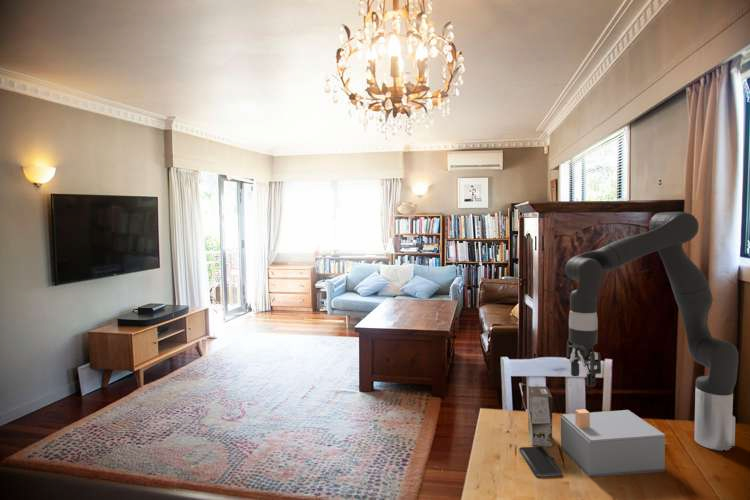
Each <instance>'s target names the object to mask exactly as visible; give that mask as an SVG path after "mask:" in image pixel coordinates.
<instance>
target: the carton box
mask: <svg viewBox="0 0 750 500" xmlns="http://www.w3.org/2000/svg"><path fill="white" fill-rule="evenodd" d="M560 448H561V450H563V451H564V452H565V454H567V456H568V457H569V458H570V459H571V460H572V461H573V462H574V463H575V464H576V465H577V466H578V467H579V468H580V469H581V470H582V471H583V472H584V474H585V475H587V477H588V478H598V477H609V476H610V477H611V476H622V475H624V476H625V475H635V474H637V475H638V474H648V473H661V472H665V468H666V467H665V461H666V460H665V457H666V456H665V455H666V453H665V452H666V436H665V437H655V438H642V439H628V440H615V441H601V442H590V441H589V440H588V439H587V438H586V437H584V436H583V435H582V434H581V433H580V432H579V431H578V430H577V429H576V428H574V427H573V426H572V425H571V424H570V423H569V422H568V421H567V420H566V419H564V418H563V417H562V416H560Z"/></svg>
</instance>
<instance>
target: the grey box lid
mask: <svg viewBox="0 0 750 500" xmlns="http://www.w3.org/2000/svg"><path fill="white" fill-rule="evenodd" d="M574 412H575V413H564V414H561V417H563V418H564V419H566V420H567V421H568V422H569V423H570V424H571V425H572V426H573V427H574V428H576V429H577V430H578V431H579V432H580V433H581V434H582V435H583V436H584V437H586V438H587V439H588V440H589V441H590V442H601V441H615V440H628V439H642V438H655V437H665V438H666V434H665V433H663V432H662V431H660V430H659V429H657V428H656V427H654V426H652V425H651V424H650V423H649V422H647V421H645V419H643V418H641V417H639V416H638V415H636V414H635V413H634V412H632V411H631V410H629V409H623V410H610V411H609V410H608V411H593V412H590V411H588V410H587V409H584V408H583V409H582V408H581V409H575V411H574Z"/></svg>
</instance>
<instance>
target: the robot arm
mask: <svg viewBox="0 0 750 500" xmlns="http://www.w3.org/2000/svg"><path fill="white" fill-rule="evenodd" d="M699 225H700V224H699V221H698V220H697V218H696V217H695V215H693V214H691V213H689V212H685V211H684V212H683V211H665V212H657V213H655V214H654V215H653V216H652V217H651V218H650V221H649V226H648V229H649V231H646V232H642V233H639V234H636V235H635V234H634V235H632V236H631V235H630V236H627V237H624V238H620V239H617V240H615V241H613V242H611V243H608V244H606V245H604V246H603V247H600V248H598V249H595V250H591V251H587V252H584V253H581V254H578V255H575V256H573V257H572V258H570V259H569V260H568V261H567V262H566V264H565V267H564V273H565V275H566V276H567V277H568V278H569V279H571V280H573V281H576V282H578V286H577V289H574V290H572V291H571V292H570V294H569V314H568V339H567V340H566V360H569V363H570V375H571V376H572V377H579V376H580V362H581V364H582V367H584V368H585V371H586V386H587V387H588V388H594V387H595V386H596V381H597V380H596V375H600V374H602V361H601V360H602V358H601V352H600V351H598V352H597V351H596V352H595V351H594V346H595V345H597V344H598V327H599V326H598V323H599V322H598V314H597V311H598V310H597V309H598V308H597V303H598V302H597V299H598V295H599V292H600V288H601V284H602V281H603V274H604V273H603V272H605V271H606V272H607V271H608V272H609V271H612V270H616V269H618V268H620V267H622V266H625V265H626V264H628V263H630V262H633V261H634V260H636V259H639V258H641V257H644V256H646V255H650V254H651V253H655V252H658V254H659V256H660V259H661V260H662V264H663V267H664V268H665V272H666V275H667V277H668V280H669V283H670V286H671V290H672V293H673V295H674V299H675V302H676V304H677V307H678V310H679V313H680V317H681V320H682V323H683V328H684V331H685V336H686V341H687V345H688V351H689V354H690V356H691V358H692V359H693V361H695V362H696V363H697V364H700V365H701V366H705V367H706V368H709V372H708V373H709V374H708V375H701V376H697V378H696V379H695V390H694V391H695V393H694V396H695V397H694V398H695V399H694V401H695V403H694V441H695V443H697V444H698V445H700V446H702V447H704V448H706V449H710V450H714V451H723V450H725V451H729V450H731V449H732V448H733V447H732V446H734V447H735V446H736V445H735V443H736V442H735V441H736V439H735V438H736V437H735V436H736V416H735V415H733V409H734V408H733V406H734V405H733V402H734V388H735V386H736V383H737V376H738V369H739V368H738V367H739V351H738V349H737V347H736V345H734V344H733V343H732V342H729V341H727V340H724V339H719V338H716V337H713V335H712V334H711V332H710V330H709V326H708V320H707V319H708V318H707V317H708V315H709V313H710V311H711V308H712V305H713V300H714V299H713V294H712V291H711V287H710V285H709V282H708V279H707V277H706V276H705V274H704V273H703V272H702V270H701V269H700V268H699V267H698V266H697V265H696V264H695V263H694V262H693V261H692V259H690V258H689V256H688V255H687V254H686V252H685V250H684V248H683V245H682V244H685V243H688V242H690V241H692V240H693V239H694V238H695V237H696V235H697V234H698V232H699V228H700V227H699ZM730 448H731V449H730ZM723 452H724V451H723Z"/></svg>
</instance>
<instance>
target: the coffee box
mask: <svg viewBox="0 0 750 500" xmlns="http://www.w3.org/2000/svg"><path fill="white" fill-rule="evenodd" d="M527 419H528V421H527V424H528V427H527V430H528V432H527V433H528V436H529V439H530V442H531V445H532V446H538V447H553V396H552V394H551V392H550V389H549V388H548V386H543V385H539V386H537V385H536V386H530V385H529V386H527Z"/></svg>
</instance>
